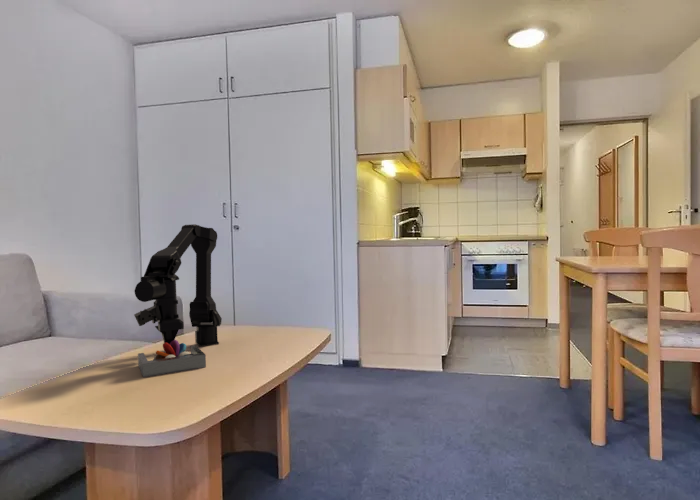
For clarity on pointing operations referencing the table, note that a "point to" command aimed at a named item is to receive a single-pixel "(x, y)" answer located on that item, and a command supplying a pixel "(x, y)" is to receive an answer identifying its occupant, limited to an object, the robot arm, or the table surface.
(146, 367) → the tray
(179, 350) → the multicolored petal rattle
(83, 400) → the table surface
